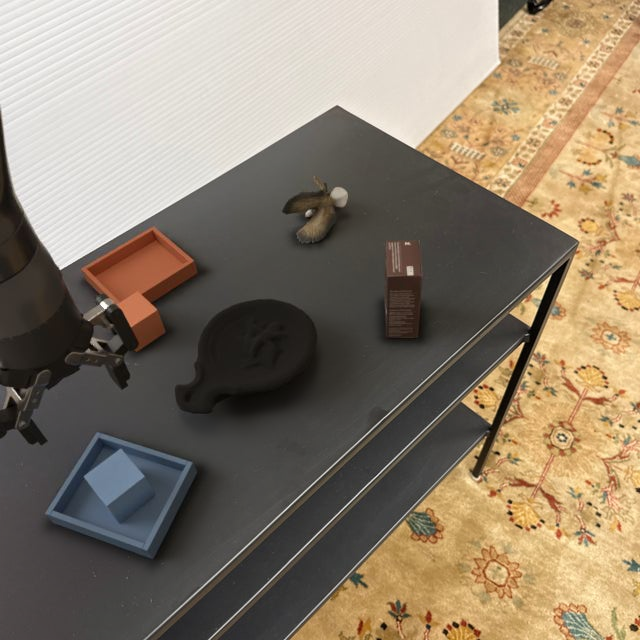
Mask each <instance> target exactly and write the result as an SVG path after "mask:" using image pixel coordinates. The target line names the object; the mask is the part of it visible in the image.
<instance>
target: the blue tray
mask: <svg viewBox="0 0 640 640" xmlns="http://www.w3.org/2000/svg"><path fill="white" fill-rule="evenodd" d="M119 449H122V450H123V451H124V452H125V453H126V455H127V456H128V457H129V458H130V459H131V461H132V462H133V463H134V464H135V465H136V466H137V468H138V469H139V470H140V471H141V472H142V473H143V475H144V476H145V477H146V479H147V481H148V483H149V485H150V486H151V488H152V490H153V492H154V493H155V496H154V497H153V498H151V499H150V500H149V501H148V502H146V503H145V504H144V505H143V506H141V507H140V508H139V509H138V510H136V511H135V512H134V513H133V514H131V515H130V516H129V517H128V518H126V519H125V520H124V521H123V522H121V523H120V524H119V523H118V521H117V520H116V519H115V518H114V516H113V515H112V514H111V512H110V511H109V510H108V509H107V507H106V506H105V505H104V503H103V502H102V501H101V500H100V498H99V497H98V496H97V494H96V493H95V492H94V490H93V489H92V488H91V486H90V485H89V483H88V482H87V481H86V479H85V478H84V476H85V475H86V474H87V473H89V472H90V471H91V470H93V469H94V468H95V467H97V466H98V465H99V464H101V463H102V462H103V461H105V460H106V459H107V458H109V457H110V456H111V455H113V454H114V453H115V452H117V451H118V450H119ZM197 474H198V471H197V468H196V467H195V464H194V462H193V461H190V460H187V459H184V458H181V457H178V456H174V455H172V454H168V453H165V452H162V451H159V450H155V449H153V448H149V447H146V446H143V445H140V444H138V443H137V444H136V443H134V442H130V441H126V440H125V439H121V438H117V437H114V436H112V435H109V434H105V433H101V432H98V431H97V432H95V435H94V436H93V437H92V439H91V441H90V443H89V444H88V445H87V447H86V448H85V450H84V452H83V453H82V455H81V457H80V458H79V459H78V461H77V462H76V464H75V466H74V468H72V470H71V472H70V473H69V475H68V476H67V478H66V480H65V481H64V483H63V485H62V486H61V488H60V489H59V491H58V493H57V494H56V495H55V497H54V498H53V500H52V502H51V504H50V505H49V506H48V508H47V510H46V511H45V512H44V514H45V515H46V517H47V518H48V519H49V520H50V521H51V522H52V523H53V524H55V525H58V526H61V527H64V528H66V529H68V530H72V531H74V532H77V533H80V534H83V535H85V536H89V537H91V538H93V539H96V540H99V541H102V542H104V543H108V544H110V545H112V546H115V547H118V548H121V549H124V550H127V551H130V552H132V553H134V554H138V555H140V556H143V557H146V558H149V559H151V560H154V559H155V556H156V555H157V553H158V551H159V549H160V547H161V545H162V543H163V541H164V539H165V537H166V535H167V533H168V531H169V529H170V527H171V525H172V523H173V521H174V519H175V517H176V515H177V514H178V511H179V509H180V507H181V505H182V503H183V501H184V500H185V498H186V495H187V493H188V491H189V490H190V488H191V485H192V484H193V482H194V480H195V478H196V476H197Z"/></svg>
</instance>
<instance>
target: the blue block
mask: <svg viewBox="0 0 640 640" xmlns="http://www.w3.org/2000/svg"><path fill="white" fill-rule="evenodd" d="M84 478H85V479H86V481H87V482H88V483H89V485H90V486H91V488H92V489H93V490H94V492H95V493H96V494H97V496H98V497H99V498H100V500H101V501H102V502H103V503H104V505H105V506H106V507H107V509H108V510H109V511H110V512H111V514H112V515H113V516H114V518H115V519H116V520H117V521H118V523H119V524H120V523H121V522H123V521H124V520H125V519H126V518H128V517H129V516H130V515H131V514H133V513H134V512H135V511H136V510H138V509H139V508H140V507H141V506H143V505H144V504H145V503H146V502H148V501H149V500H150V499H151V498H153V497H154V496H155V493H154V492H153V490H152V488H151V486H150V485H149V483H148V481H147V479H146V477H145V476H144V475H143V473H142V472H141V471H140V470H139V469H138V468H137V466H136V465H135V464H134V463H133V462H132V461H131V459H130V458H129V457H128V456H127V455H126V453H125V452H124V451H123V450H122V449H119V450H118V451H117V452H115V453H114V454H113V455H111V456H110V457H109V458H107V459H106V460H105V461H103V462H102V463H101V464H99V465H98V466H97V467H95V468H94V469H93V470H91V471H90V472H89V473H87V474H86V475H85V476H84Z"/></svg>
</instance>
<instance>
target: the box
mask: <svg viewBox="0 0 640 640" xmlns="http://www.w3.org/2000/svg"><path fill="white" fill-rule="evenodd" d="M420 242H421V241H420V240H419V239H414V240H413V239H411V240H408V239H407V240H386V241H385V254H384V255H385V263H384V265H385V266H384V267H385V269H384V314H385V316H384V317H385V337H386V338H387V339H393V338H394V339H413V338H415V339H416V338H418V337H419V330H420V329H419V328H420V316H421V303H422V292H423V274H424V273H423V266H422V264H423V263H422V259H423V258H422V252H421V243H420Z"/></svg>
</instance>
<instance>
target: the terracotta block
mask: <svg viewBox="0 0 640 640" xmlns="http://www.w3.org/2000/svg"><path fill="white" fill-rule="evenodd" d="M117 306H118V307H119V308H120V309H121V310H122V311H123V313H124V315H125V317H126V319H127V321H128V323H129V325H130V326H131V328H132V330H133V332H134V334H135V336H136V338H137V340H138V342H139V346H138V347H137V348H136V349H135V350H134V351H135V352H136V353H137V352H139V351H141V350H142V349H143V348H145V347H146V346H147V345H149V344H151V343H152V342H154V341H155V340H156V339H158V338H159V337H161V336H162V335H164V334H165V333H166V330H165V326H164V323H163V321H162V318H161V315H160V313H159V310H158V309H157V308H156V307H155V305H153V304H152V303H150V302H149V301H148V300H147V299H146V298H144V297H143V296H142V295H141V294H140V293H139V292H138V291H137V292H136V293H134V294H133V295H131V296H129V297H128V298H126V299H125V300H123V301H121V302H120V303H118V304H117Z"/></svg>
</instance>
